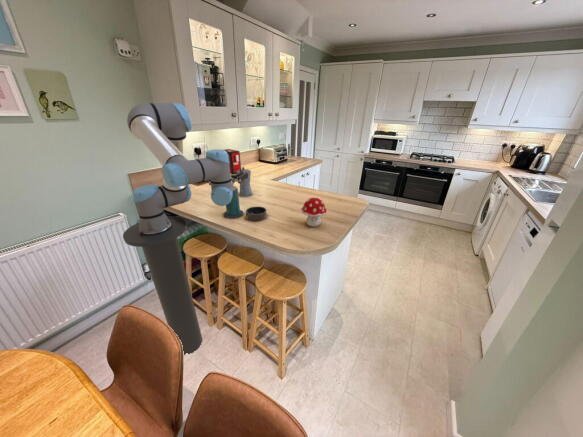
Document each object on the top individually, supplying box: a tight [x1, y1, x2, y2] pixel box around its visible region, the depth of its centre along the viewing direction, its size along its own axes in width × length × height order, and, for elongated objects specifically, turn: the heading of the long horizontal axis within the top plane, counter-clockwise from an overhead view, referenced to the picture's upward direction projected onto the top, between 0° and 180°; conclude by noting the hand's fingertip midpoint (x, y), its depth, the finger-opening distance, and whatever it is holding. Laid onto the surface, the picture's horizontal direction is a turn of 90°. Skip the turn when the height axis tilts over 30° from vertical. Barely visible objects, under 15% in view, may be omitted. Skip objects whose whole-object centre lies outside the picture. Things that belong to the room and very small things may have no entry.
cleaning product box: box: [224, 148, 242, 175], centre depth 219 cm, size 16×9×20 cm, turn 48°
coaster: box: [223, 209, 244, 220], centre depth 136 cm, size 11×11×1 cm
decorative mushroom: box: [300, 197, 328, 228], centre depth 123 cm, size 14×14×15 cm
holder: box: [245, 206, 268, 222], centre depth 133 cm, size 12×12×4 cm
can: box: [225, 185, 241, 216], centre depth 133 cm, size 8×8×16 cm
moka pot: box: [237, 166, 253, 198], centre depth 163 cm, size 10×15×20 cm, turn 16°
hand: (226, 171), depth 116 cm, fingers open, 13 cm apart
